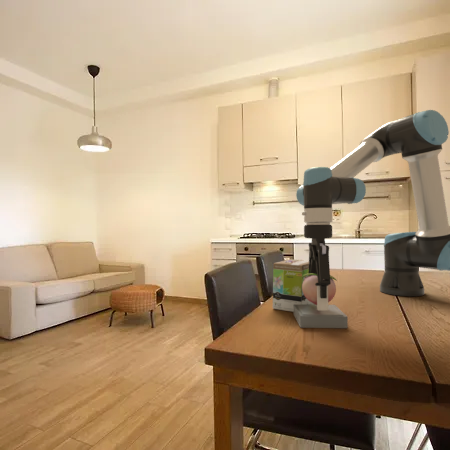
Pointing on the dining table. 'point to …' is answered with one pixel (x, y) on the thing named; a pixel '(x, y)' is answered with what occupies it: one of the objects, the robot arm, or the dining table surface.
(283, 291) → the tea box
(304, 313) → the slate trivet
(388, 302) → the dining table surface
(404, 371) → the dining table surface
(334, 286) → the decorative fruit
